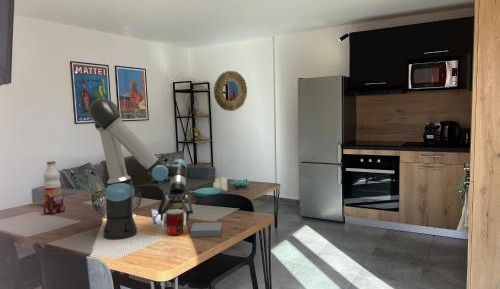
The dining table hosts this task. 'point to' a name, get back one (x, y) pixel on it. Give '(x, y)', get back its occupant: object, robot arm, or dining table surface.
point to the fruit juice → (51, 181)
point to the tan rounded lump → (174, 204)
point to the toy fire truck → (54, 204)
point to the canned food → (174, 222)
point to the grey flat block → (206, 229)
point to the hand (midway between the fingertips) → (173, 226)
